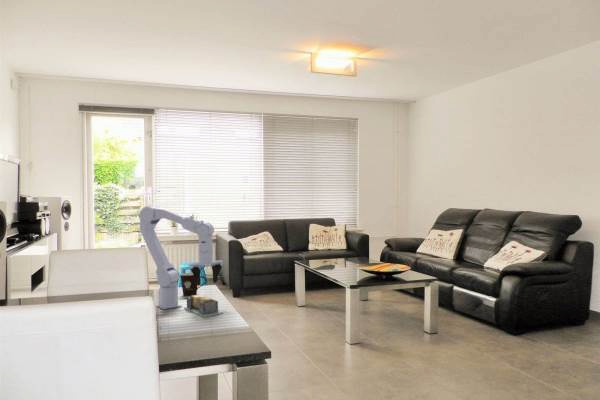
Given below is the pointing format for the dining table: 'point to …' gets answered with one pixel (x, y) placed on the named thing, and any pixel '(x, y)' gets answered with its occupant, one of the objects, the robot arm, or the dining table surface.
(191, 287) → the coffee mug
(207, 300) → the rail
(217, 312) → the board
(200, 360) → the dining table surface
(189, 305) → the bracket
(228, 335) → the dining table surface
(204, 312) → the bracket
